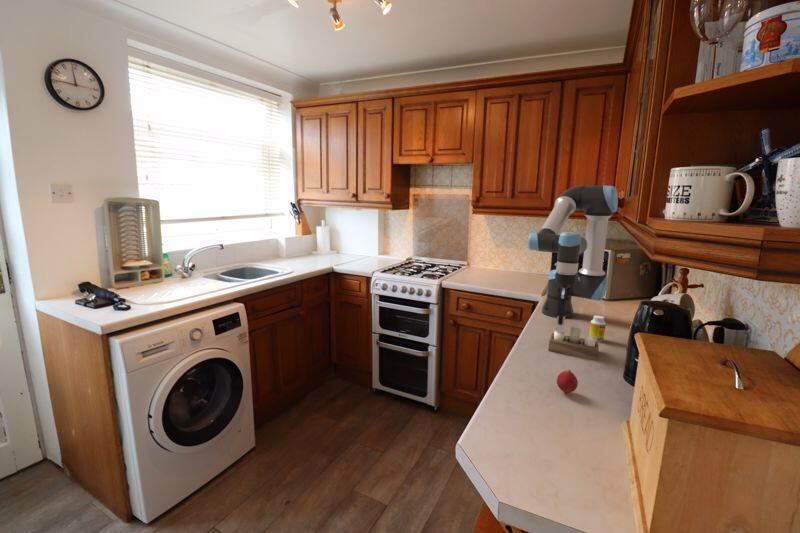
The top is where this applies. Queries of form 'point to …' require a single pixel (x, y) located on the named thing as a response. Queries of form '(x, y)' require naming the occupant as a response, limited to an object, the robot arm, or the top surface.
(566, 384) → the onion
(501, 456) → the top surface
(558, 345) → the socket block
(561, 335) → the cream egg
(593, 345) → the white egg
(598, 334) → the supplement bottle
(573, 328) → the pale green egg
